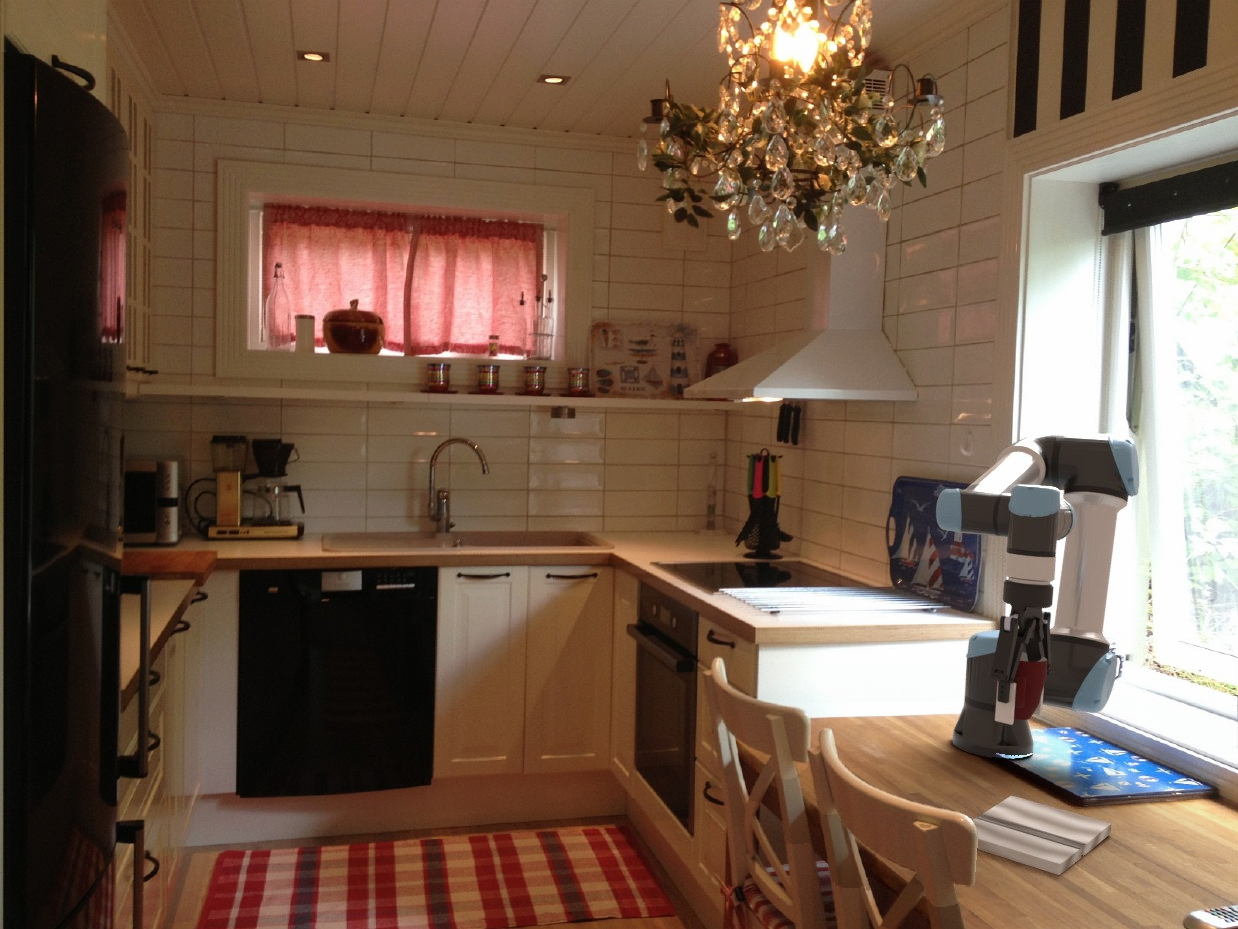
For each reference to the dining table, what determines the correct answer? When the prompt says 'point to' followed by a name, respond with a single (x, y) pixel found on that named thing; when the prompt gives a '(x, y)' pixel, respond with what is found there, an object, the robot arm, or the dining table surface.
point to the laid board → (1026, 846)
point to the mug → (1028, 686)
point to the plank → (1050, 822)
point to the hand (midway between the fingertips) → (1018, 717)
